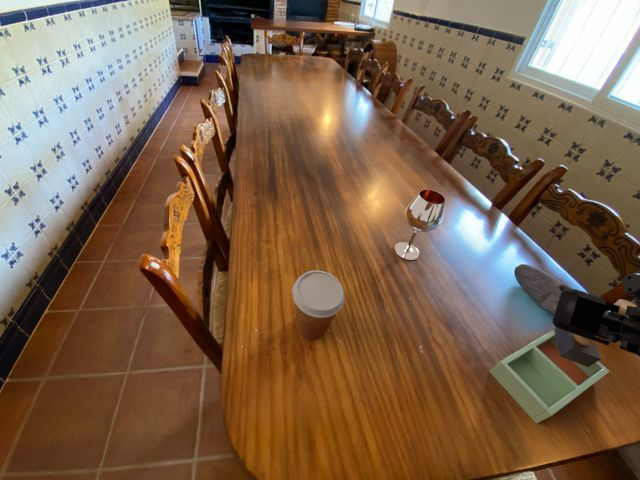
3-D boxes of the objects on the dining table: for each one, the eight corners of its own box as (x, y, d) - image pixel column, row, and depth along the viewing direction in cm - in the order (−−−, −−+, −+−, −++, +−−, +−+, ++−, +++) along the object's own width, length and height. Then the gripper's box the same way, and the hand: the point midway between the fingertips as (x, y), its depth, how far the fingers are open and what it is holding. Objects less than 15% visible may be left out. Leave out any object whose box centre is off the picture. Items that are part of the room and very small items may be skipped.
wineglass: (428, 260, 76) (459, 205, 65) (401, 265, 74) (427, 209, 63) (411, 238, 82) (436, 184, 71) (385, 242, 80) (406, 188, 69)
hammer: (588, 367, 50) (654, 327, 42) (560, 356, 51) (619, 315, 43) (579, 339, 54) (637, 297, 45) (553, 330, 55) (606, 287, 47)
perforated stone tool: (502, 276, 74) (518, 257, 69) (518, 272, 75) (534, 253, 71) (560, 330, 63) (583, 312, 58) (577, 324, 64) (601, 306, 60)
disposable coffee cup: (286, 305, 63) (290, 269, 56) (329, 303, 64) (339, 267, 57) (290, 349, 56) (295, 314, 48) (339, 346, 57) (352, 311, 50)
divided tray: (593, 380, 55) (610, 371, 53) (536, 423, 49) (552, 415, 47) (544, 337, 62) (557, 327, 59) (488, 371, 55) (500, 361, 53)
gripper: (826, 315, 32) (679, 298, 47) (616, 254, 37) (544, 256, 52) (800, 415, 31) (660, 365, 46) (591, 339, 37) (525, 316, 52)
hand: (594, 322), depth 49 cm, fingers closed on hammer, 2 cm apart
